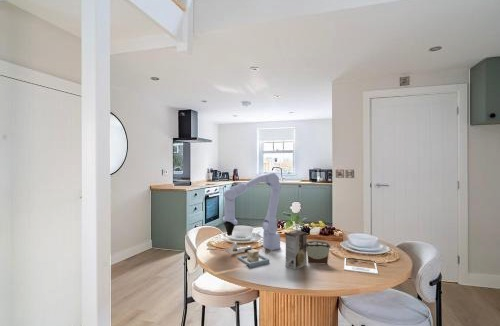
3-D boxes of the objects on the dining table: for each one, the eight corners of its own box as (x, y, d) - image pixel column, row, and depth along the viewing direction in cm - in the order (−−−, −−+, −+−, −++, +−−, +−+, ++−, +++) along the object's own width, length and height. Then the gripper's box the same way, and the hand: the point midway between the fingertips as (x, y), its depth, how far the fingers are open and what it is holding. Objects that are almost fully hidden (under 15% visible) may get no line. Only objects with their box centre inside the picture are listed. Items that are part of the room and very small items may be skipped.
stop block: (253, 258, 148) (253, 249, 148) (258, 261, 144) (258, 251, 144) (247, 260, 145) (247, 250, 145) (252, 262, 142) (252, 252, 142)
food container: (328, 260, 148) (328, 240, 148) (330, 264, 142) (330, 244, 142) (304, 259, 149) (304, 239, 149) (305, 263, 143) (305, 243, 143)
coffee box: (296, 261, 145) (296, 229, 145) (306, 265, 141) (307, 232, 140) (284, 266, 139) (285, 233, 139) (295, 270, 134) (295, 235, 134)
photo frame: (344, 268, 134) (344, 256, 151) (344, 271, 134) (344, 258, 151) (378, 272, 129) (375, 259, 146) (378, 275, 129) (375, 262, 146)
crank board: (245, 246, 170) (245, 243, 170) (257, 252, 159) (257, 249, 159) (222, 250, 162) (222, 247, 162) (233, 257, 151) (233, 254, 151)
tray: (256, 256, 152) (256, 252, 152) (269, 263, 143) (269, 259, 143) (237, 260, 146) (237, 256, 146) (249, 267, 136) (249, 263, 136)
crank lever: (249, 247, 161) (249, 239, 161) (252, 248, 159) (252, 240, 159) (231, 250, 155) (231, 242, 155) (234, 252, 153) (234, 243, 153)
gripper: (217, 209, 164) (217, 233, 164) (229, 213, 151) (229, 239, 152) (228, 208, 168) (228, 231, 168) (241, 212, 155) (240, 237, 155)
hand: (229, 235), depth 160 cm, fingers closed
